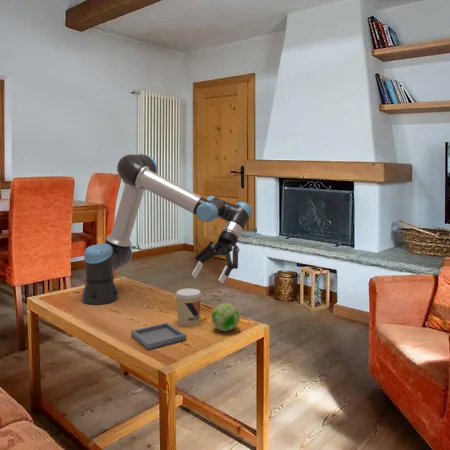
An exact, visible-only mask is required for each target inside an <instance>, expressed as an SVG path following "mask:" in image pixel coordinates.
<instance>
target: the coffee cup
mask: <svg viewBox="0 0 450 450" xmlns="http://www.w3.org/2000/svg"><path fill="white" fill-rule="evenodd" d="M175 296H176V307H177V318H178V319H177V320H178V324H179V325H181V326H183V327H195V326H198V325H199V324H200V316H201V298H202V292H201V290H200V289H196V288H181V289H179V290H177V291H176V294H175Z"/></svg>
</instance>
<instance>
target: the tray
mask: <svg viewBox="0 0 450 450" xmlns="http://www.w3.org/2000/svg"><path fill="white" fill-rule="evenodd" d="M130 335H131V337H132V338H133V339H134V340H135V341H136V342H137V343H139V344H140V345H141V346H143V347H144V348H145V349H146V350H148V351H150V350H155V349H159V348H162V347H166V346H170V345H174V344H178V343H181V342H186V341H187V334H186V333H184V332H183V331H181V329H178V328H176V327H175V326H174V325H172V324H171V323H169V322H162V323H159V324H155V325H151V326H150V325H149V326H146V327H141V328H138V329H132V330H130Z"/></svg>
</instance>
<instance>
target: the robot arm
mask: <svg viewBox="0 0 450 450" xmlns="http://www.w3.org/2000/svg"><path fill="white" fill-rule="evenodd" d="M116 167H117V168H116V171H117V174H118V176H119V178H120V179H121V180H122V183H123V184H124V187H123V191H122V195H121V198H120V201H119V203H118V204H119V205H118V208H117V212H116V215H115V218H114V223H113V225H112V230H111V233H110V234H109V235H107V236H106V238H105V241H104V243H96V244H92V245H89V246H88V247H86V248H85V250H84V255H83V260H84V273H85V275H84V276H85V283H84V284H85V285H84V287H83V292H82V296H81V299H82V303H83V304H86V305H97V306H98V305H105V304H110V303H113V302H116V301H117V300H118V299H119V292H118V290H117V286H116V283H115V281H114V271H115V270H118V269H119V268H122V267H124V266H126V265H127V264H128V263H129V262H130V261H131V259H132V256H133V249H132V247H131V246H132V244H133V243H132V241H131V240H130V239H131V236H132V232H133V229H134V225H135V222H136V218H137V216H138V212H139V208H140V206H141V203H142V202H141V201H142V198H143V196H144V192H145V191H149V192H150V193H152V194H154V195H156V196H158V197H159V198H162V199H164V200H166V201H168V202H169V203H172V204H173V205H176V206H178V207H180V208H182V209H184V210H186V211H188V212H190V213H191V214H193V215H195V216H197V218H198V219H199V220H200V221H201V222H203V223H211V222H213V221H215V220H216V219H221V220H223V221H225V222H226V223H225V225H224V227H223V228H222V231H221V233H220V234H219V236H218V237H217V242H216V243H214V242H213V241H210V242H209V243H208V245H207V246H205V247H204V248H203V249H202V250H201V251H200V252H198V254H197V255H196V256H195V257H194V260H196V262H195V265H194V267H193V271H192V273H191V276H192V277H193V278H194V279H197V278H198V275H199V273H200V271H201V270H202V268H203V267H204V263H205V262H207V261H209V260H211V258H213V257H216V256H217V255H218V256H222V257H225V260H226V263H227V265H225V266H224V267H223V270H222V272H221V273H220V276H219V277H218V281H219V283H220V284H221V285H223V284H224V283H225V281H226V279H227V277H229V276H230V274H231V272H232V270H234V269H236V270H238V268H239V252H240V247H239V246H238V245H237V243H238V241H239V239H240V237H241V236H242V234H243V231H244V230H245V227H246V225H247V224H248V222H249V220H250V218H251V215H252V213H253V208H252V207H251V205H250V204H249V203H247V202H245V201H243V202H242V201H238V202H237V203H236V204H233V203H232V202H231V203H230V202H229V201H226V200H223V199H221V198H219V197H217V196H214V195H209V196H207V198H205V197H203V196H201V195H199V194H197V193H195V192H193V191H191V190H189V189H188V188H185V187H183V186H182V185H179V184H177V183H175V182H173V181H171V180H169V179H168V178H166V177H164V176H162V175H160V174H158V164H157V163H156V160H155V159H154V158H153V157H152V156H149V155H148V154H143V153H138V154H126V155H124V156H122V157H121V158H120V159H119V161H118V163H117V166H116ZM230 252H232V258H231V253H230Z"/></svg>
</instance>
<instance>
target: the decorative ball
mask: <svg viewBox="0 0 450 450" xmlns="http://www.w3.org/2000/svg"><path fill="white" fill-rule="evenodd" d="M211 322H212V324H213V326H214V327H215V328H216V329H218V330H219V331H222V332H230V331H232V330H233V329H235V328H236V327H237V326H238V324H239V322H240V312H239V310H238V308H237V307H235V306H234V304H232V303H228V302H222V303H219V304H217V305H216V306H215V308H214V309H213V310H212V313H211Z"/></svg>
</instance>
